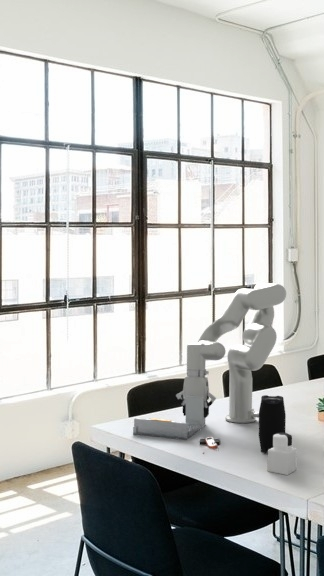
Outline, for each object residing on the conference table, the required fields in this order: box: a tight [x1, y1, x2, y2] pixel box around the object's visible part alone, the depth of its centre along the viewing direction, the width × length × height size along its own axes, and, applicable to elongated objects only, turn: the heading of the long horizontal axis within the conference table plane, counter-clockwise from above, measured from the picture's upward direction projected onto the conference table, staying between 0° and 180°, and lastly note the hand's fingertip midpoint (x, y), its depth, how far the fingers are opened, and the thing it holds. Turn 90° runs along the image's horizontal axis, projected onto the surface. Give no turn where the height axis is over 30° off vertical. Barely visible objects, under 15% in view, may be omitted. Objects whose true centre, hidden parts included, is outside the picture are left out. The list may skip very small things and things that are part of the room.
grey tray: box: [132, 417, 201, 441], centre depth 276 cm, size 22×16×6 cm
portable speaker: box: [258, 395, 287, 454], centre depth 249 cm, size 9×9×20 cm
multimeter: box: [199, 436, 221, 455], centre depth 254 cm, size 18×12×3 cm, turn 172°
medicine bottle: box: [267, 432, 298, 476], centre depth 228 cm, size 7×7×12 cm
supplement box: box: [185, 396, 206, 429], centre depth 286 cm, size 7×7×13 cm
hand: (195, 415), depth 286 cm, fingers closed on supplement box, 8 cm apart
